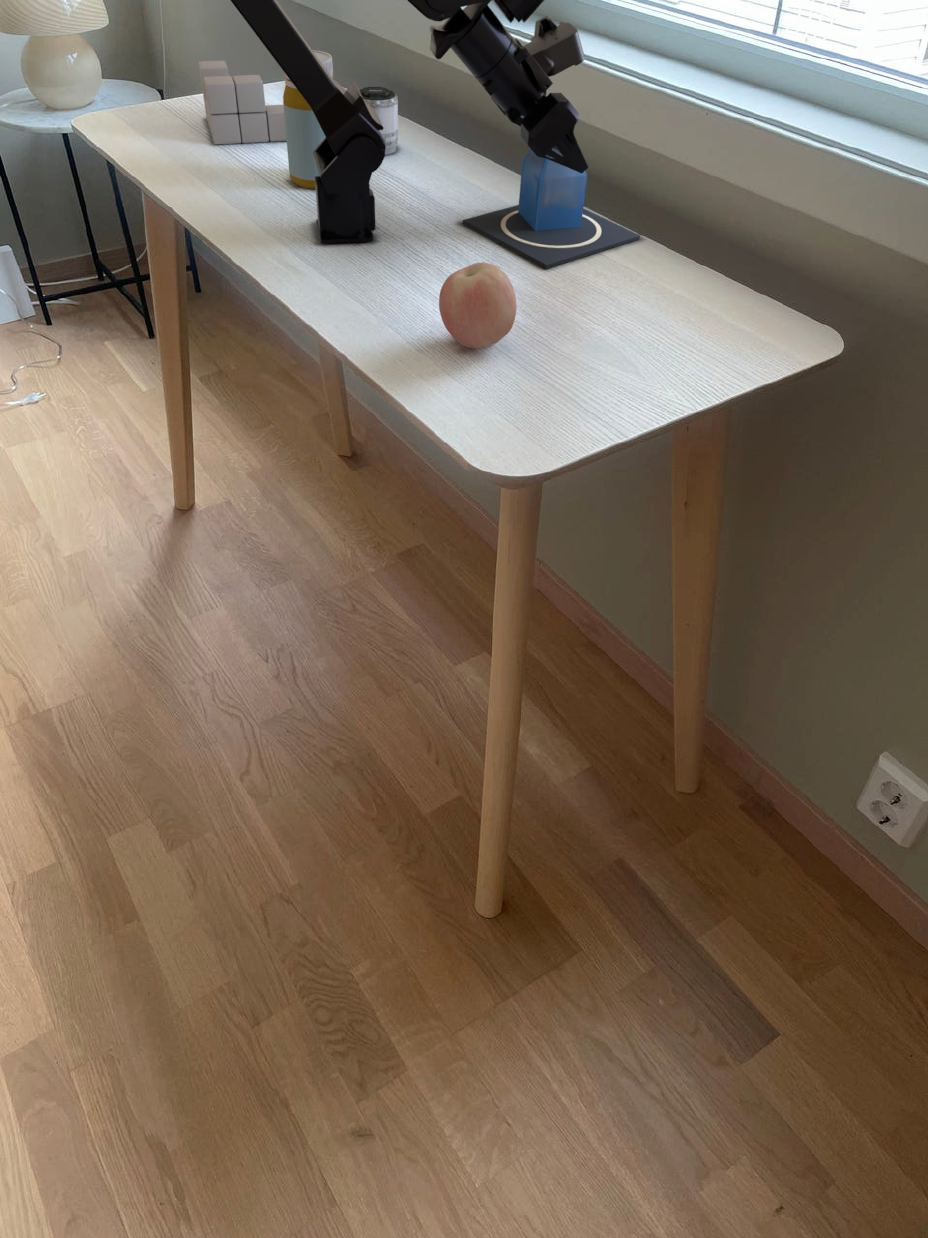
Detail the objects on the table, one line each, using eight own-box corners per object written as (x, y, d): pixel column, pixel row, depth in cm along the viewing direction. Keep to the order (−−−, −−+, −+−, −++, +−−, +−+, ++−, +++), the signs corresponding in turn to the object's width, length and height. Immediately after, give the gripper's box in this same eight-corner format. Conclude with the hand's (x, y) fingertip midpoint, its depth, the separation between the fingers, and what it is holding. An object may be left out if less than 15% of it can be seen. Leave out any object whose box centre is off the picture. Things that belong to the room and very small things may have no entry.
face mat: (545, 268, 109) (546, 263, 109) (462, 223, 118) (462, 218, 118) (639, 239, 117) (640, 234, 116) (554, 198, 126) (555, 193, 125)
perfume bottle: (562, 208, 122) (573, 108, 113) (580, 226, 117) (593, 123, 109) (518, 212, 120) (526, 110, 112) (535, 230, 116) (545, 127, 107)
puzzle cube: (296, 140, 138) (291, 80, 132) (214, 144, 135) (206, 83, 130) (284, 115, 146) (279, 58, 140) (206, 118, 143) (198, 60, 138)
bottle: (280, 184, 125) (268, 58, 115) (306, 168, 130) (296, 45, 119) (326, 193, 123) (318, 66, 113) (350, 176, 128) (345, 53, 118)
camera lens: (400, 156, 135) (400, 96, 129) (357, 156, 134) (355, 96, 128) (395, 141, 139) (395, 83, 134) (353, 142, 138) (351, 83, 133)
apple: (475, 318, 100) (479, 244, 94) (528, 344, 96) (536, 268, 91) (423, 341, 96) (424, 266, 90) (476, 369, 92) (481, 292, 86)
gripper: (571, 16, 95) (652, 130, 105) (524, -22, 108) (600, 82, 118) (492, 102, 99) (577, 204, 109) (456, 55, 112) (534, 150, 122)
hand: (573, 156), depth 114 cm, fingers open, 9 cm apart
